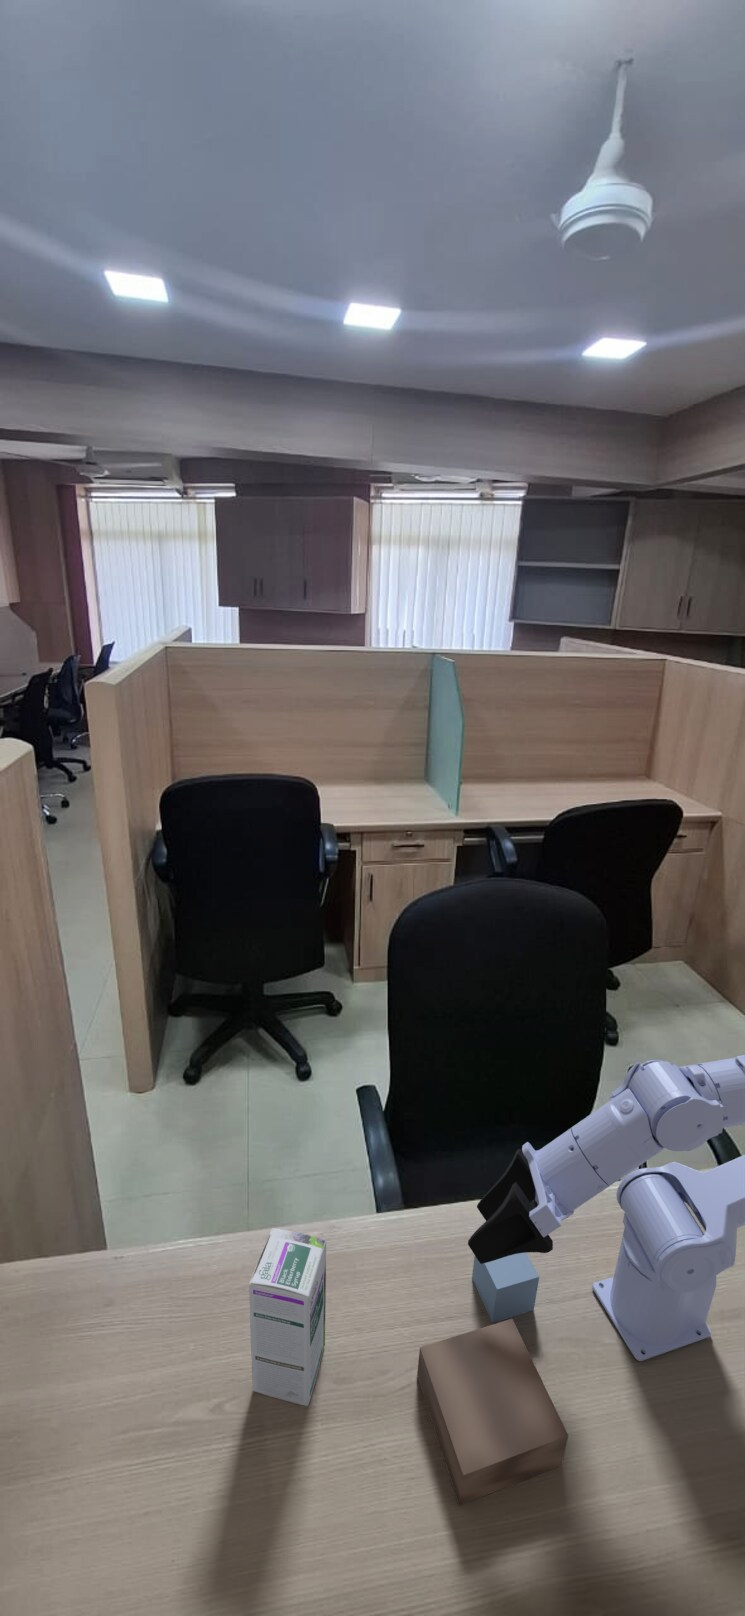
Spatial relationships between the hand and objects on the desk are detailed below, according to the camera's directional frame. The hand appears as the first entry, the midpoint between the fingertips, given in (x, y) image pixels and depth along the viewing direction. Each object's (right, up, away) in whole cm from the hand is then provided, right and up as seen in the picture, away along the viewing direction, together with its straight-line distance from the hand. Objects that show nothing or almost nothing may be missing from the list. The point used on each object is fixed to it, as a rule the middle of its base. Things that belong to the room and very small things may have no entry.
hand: (478, 1232), depth 64 cm
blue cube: (+4, -12, +8) cm, 14 cm away
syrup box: (-19, -13, 0) cm, 23 cm away
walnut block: (0, -15, -4) cm, 15 cm away
